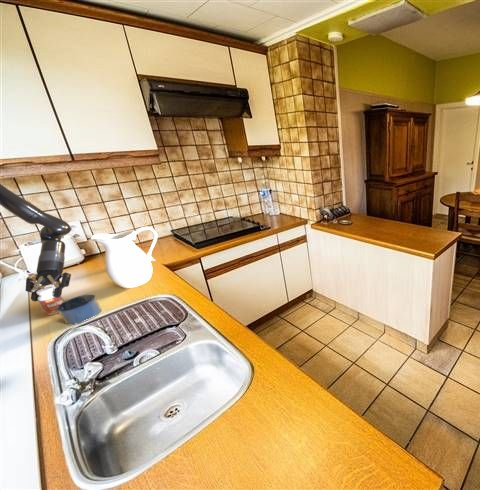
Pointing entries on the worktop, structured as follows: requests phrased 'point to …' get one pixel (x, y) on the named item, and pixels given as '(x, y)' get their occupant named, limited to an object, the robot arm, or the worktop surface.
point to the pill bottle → (49, 300)
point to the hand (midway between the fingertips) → (46, 298)
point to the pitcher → (126, 258)
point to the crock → (79, 309)
